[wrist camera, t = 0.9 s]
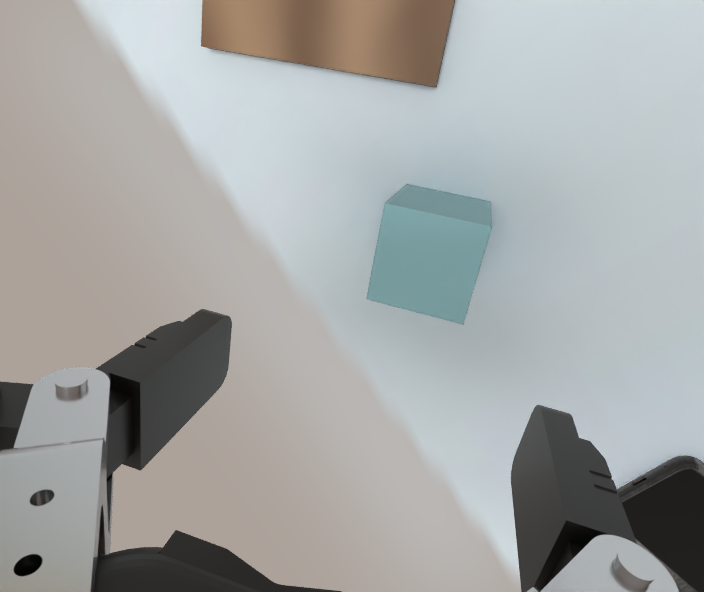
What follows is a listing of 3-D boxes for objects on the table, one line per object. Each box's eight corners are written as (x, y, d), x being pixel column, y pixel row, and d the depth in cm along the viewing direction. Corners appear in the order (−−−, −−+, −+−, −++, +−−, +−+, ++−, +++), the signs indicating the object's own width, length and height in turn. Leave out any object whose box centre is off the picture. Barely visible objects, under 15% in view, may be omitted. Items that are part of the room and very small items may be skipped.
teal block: (490, 201, 27) (491, 226, 21) (467, 279, 29) (463, 324, 23) (407, 184, 28) (384, 203, 22) (390, 261, 30) (366, 299, 24)
